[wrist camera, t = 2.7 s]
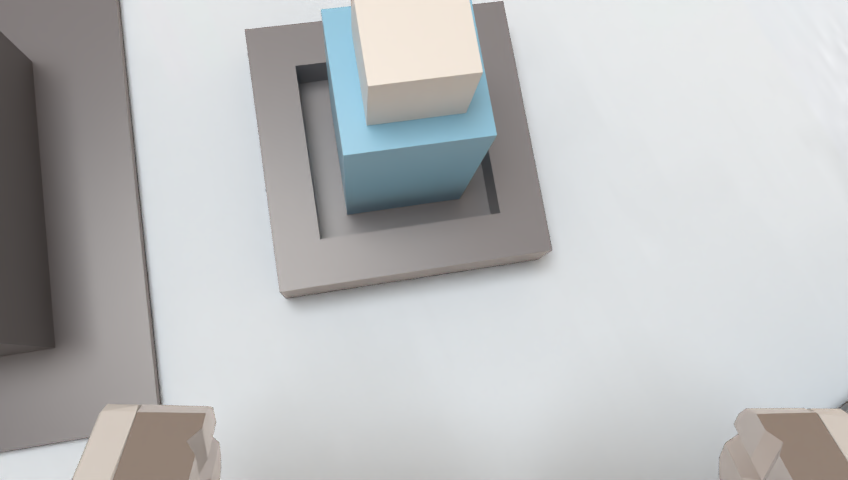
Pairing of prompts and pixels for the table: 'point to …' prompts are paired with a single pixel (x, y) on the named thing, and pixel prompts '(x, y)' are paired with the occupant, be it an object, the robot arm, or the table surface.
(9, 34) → the port
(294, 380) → the table surface
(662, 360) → the table surface
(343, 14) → the plug
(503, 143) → the grey square tray
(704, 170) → the table surface
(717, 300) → the table surface
